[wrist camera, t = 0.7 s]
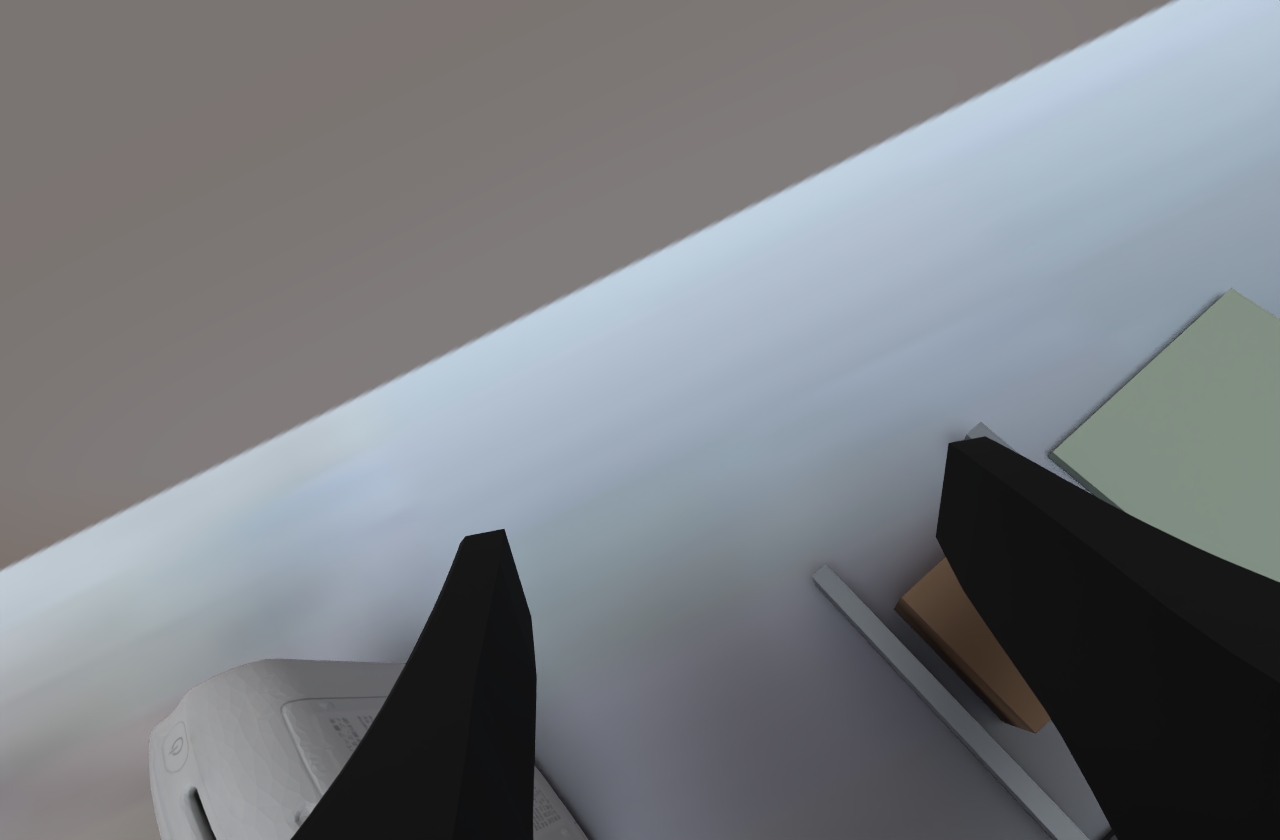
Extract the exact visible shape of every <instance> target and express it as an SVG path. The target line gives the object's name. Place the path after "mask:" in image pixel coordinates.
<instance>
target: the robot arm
mask: <svg viewBox="0 0 1280 840" xmlns="http://www.w3.org/2000/svg"><path fill="white" fill-rule="evenodd" d="M936 538H937V540H938V542H939V544H940V546H941V548H942V550H943V552H944V554H945V556H946V558H947V560H948V562H949V564H950V566H951V568H952V570H953V572H954V574H955V576H956V578H957V580H958V582H959V583H960V585H961V587H962V589H963V591H964V592H965V594H966V595H967V597H968V598H969V600H970V601H971V603H972V604H973V606H974V607H975V609H976V610H977V612H978V613H979V615H980V616H981V618H982V619H983V621H984V622H985V624H986V625H987V627H988V628H989V629H990V631H991V632H992V634H993V635H994V637H995V638H996V640H997V641H998V643H999V644H1000V645H1001V647H1002V648H1003V650H1004V651H1005V653H1006V654H1007V655H1008V657H1009V658H1010V660H1011V661H1012V663H1013V664H1014V666H1015V667H1016V668H1017V670H1018V671H1019V673H1020V674H1021V676H1022V677H1023V679H1024V680H1025V681H1026V683H1027V684H1028V686H1029V687H1030V689H1031V690H1032V692H1033V693H1034V694H1035V696H1036V697H1037V699H1038V700H1039V702H1040V703H1041V705H1042V706H1043V707H1044V709H1045V711H1046V712H1047V714H1048V715H1049V717H1050V718H1051V720H1052V722H1053V723H1054V725H1055V726H1056V728H1057V730H1058V731H1059V733H1060V734H1061V736H1062V738H1063V740H1064V741H1065V743H1066V745H1067V747H1068V749H1069V750H1070V752H1071V754H1072V756H1073V758H1074V759H1075V761H1076V763H1077V765H1078V767H1079V768H1080V770H1081V772H1082V774H1083V776H1084V777H1085V779H1086V781H1087V783H1088V785H1089V786H1090V788H1091V790H1092V792H1093V794H1094V795H1095V797H1096V799H1097V801H1098V803H1099V805H1100V807H1101V809H1102V811H1103V813H1104V815H1105V817H1106V818H1107V820H1108V822H1109V824H1110V826H1111V828H1112V830H1113V832H1114V834H1115V836H1116V838H1117V839H1118V840H1280V582H1278V581H1275V580H1273V579H1270V578H1268V577H1266V576H1263V575H1261V574H1258V573H1256V572H1253V571H1251V570H1249V569H1246V568H1244V567H1241V566H1239V565H1236V564H1234V563H1232V562H1229V561H1227V560H1224V559H1222V558H1220V557H1217V556H1215V555H1213V554H1211V553H1208V552H1206V551H1204V550H1202V549H1199V548H1197V547H1195V546H1193V545H1191V544H1189V543H1187V542H1185V541H1182V540H1180V539H1178V538H1176V537H1174V536H1172V535H1170V534H1168V533H1166V532H1164V531H1162V530H1160V529H1158V528H1155V527H1153V526H1151V525H1149V524H1147V523H1145V522H1143V521H1141V520H1139V519H1137V518H1136V517H1134V516H1132V515H1130V514H1128V513H1126V512H1124V511H1122V510H1120V509H1118V508H1116V507H1114V506H1112V505H1110V504H1109V503H1107V502H1105V501H1103V500H1101V499H1099V498H1097V497H1096V496H1094V495H1092V494H1090V493H1088V492H1086V491H1085V490H1083V489H1081V488H1079V487H1077V486H1075V485H1074V484H1072V483H1070V482H1068V481H1066V480H1065V479H1063V478H1061V477H1059V476H1057V475H1056V474H1054V473H1052V472H1050V471H1049V470H1047V469H1045V468H1043V467H1041V466H1040V465H1038V464H1036V463H1034V462H1032V461H1031V460H1029V459H1027V458H1025V457H1023V456H1022V455H1020V454H1018V453H1016V452H1014V451H1013V450H1011V449H1009V448H1007V447H1005V446H1003V445H1001V444H1000V443H998V442H996V441H994V440H992V439H990V438H988V437H986V436H984V437H979V438H973V439H968V440H963V441H958V442H953V443H949V445H948V452H947V459H946V467H945V474H944V481H943V489H942V496H941V503H940V510H939V518H938V525H937V532H936ZM536 680H537V677H536V664H535V652H534V641H533V631H532V620H531V615H530V611H529V608H528V605H527V602H526V598H525V595H524V592H523V588H522V585H521V582H520V579H519V575H518V572H517V569H516V565H515V562H514V559H513V556H512V552H511V549H510V546H509V543H508V539H507V536H506V533H505V529H501V530H496V531H491V532H485V533H480V534H475V535H470V536H465V538H464V539H463V540H462V542H461V543H460V545H459V548H458V551H457V553H456V556H455V558H454V561H453V564H452V566H451V569H450V571H449V573H448V576H447V578H446V581H445V583H444V585H443V588H442V590H441V592H440V595H439V597H438V599H437V601H436V604H435V606H434V608H433V610H432V612H431V614H430V616H429V618H428V621H427V623H426V625H425V627H424V629H423V631H422V633H421V635H420V637H419V639H418V641H417V643H416V645H415V647H414V649H413V651H412V653H411V655H410V657H409V659H408V661H407V663H406V664H405V666H404V668H403V670H402V672H401V673H400V675H399V677H398V679H397V681H396V682H395V684H394V686H393V688H392V690H391V691H390V693H389V695H388V697H387V699H386V701H385V702H384V704H383V706H382V707H381V709H380V711H379V712H378V714H377V716H376V717H375V719H374V721H373V722H372V724H371V726H370V727H369V729H368V730H367V732H366V734H365V735H364V737H363V738H362V740H361V741H360V743H359V744H358V746H357V748H356V749H355V751H354V752H353V754H352V755H351V757H350V758H349V760H348V761H347V763H346V764H345V766H344V767H343V769H342V770H341V772H340V773H339V774H338V776H337V777H336V779H335V780H334V781H333V783H332V784H331V785H330V787H329V788H328V790H327V791H326V792H325V794H324V795H323V797H322V798H321V799H320V801H319V802H318V804H317V805H316V806H315V808H314V809H313V810H312V812H311V813H310V815H309V816H308V817H307V819H306V820H305V821H304V823H303V824H302V825H301V826H300V828H299V829H298V830H297V832H296V833H295V834H294V836H293V837H292V838H291V839H290V840H533V801H534V764H535V727H536Z"/></svg>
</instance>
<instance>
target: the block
mask: <svg viewBox="0 0 1280 840" xmlns="http://www.w3.org/2000/svg"><path fill="white" fill-rule="evenodd" d="M894 610H895V611H896V612H897V613H898V614H899V615H900V616H901V617H902V618H903V619H904V620H905V621H906V622H907V623H908V624H909V625H910V627H911V628H912V629H913V630H914V631H915V632H916V633H917V634H918V635H919V636H920V637H921V638H922V639H923V640H924V641H925V642H926V643H927V644H928V645H929V646H930V647H931V648H932V649H933V650H934V651H935V652H936V653H937V654H938V655H939V656H940V657H941V658H942V659H943V660H944V661H945V662H946V663H947V665H948V666H949V667H950V668H951V669H952V670H953V671H954V672H955V673H956V674H957V675H958V676H959V677H960V678H961V679H962V680H963V681H964V682H965V683H966V684H967V685H968V686H969V687H970V688H971V689H972V690H973V691H974V692H975V693H976V694H977V695H978V696H979V697H980V698H981V699H982V700H983V701H984V703H985V704H986V705H987V706H988V707H989V708H990V709H991V710H992V711H993V712H994V713H995V714H996V715H997V716H998V717H999V718H1000V719H1001V720H1002V721H1003V722H1004V723H1007V724H1010V725H1013V726H1016V727H1019V728H1022V729H1025V730H1028V731H1031V732H1034V733H1037V732H1038V731H1039V730H1040V729H1041V728H1042V727H1043V726H1044V725H1045V724H1046V723H1047V722H1048V721H1049V720H1051V718H1050V717H1049V715H1048V714H1047V712H1046V711H1045V709H1044V707H1043V706H1042V705H1041V703H1040V702H1039V700H1038V699H1037V697H1036V696H1035V694H1034V693H1033V692H1032V690H1031V689H1030V687H1029V686H1028V684H1027V683H1026V681H1025V680H1024V679H1023V677H1022V676H1021V674H1020V673H1019V671H1018V670H1017V668H1016V667H1015V666H1014V664H1013V663H1012V661H1011V660H1010V658H1009V657H1008V655H1007V654H1006V653H1005V651H1004V650H1003V648H1002V647H1001V645H1000V644H999V643H998V641H997V640H996V638H995V637H994V635H993V634H992V632H991V631H990V629H989V628H988V627H987V625H986V624H985V622H984V621H983V619H982V618H981V616H980V615H979V613H978V612H977V610H976V609H975V607H974V606H973V604H972V603H971V601H970V600H969V598H968V597H967V595H966V594H965V592H964V591H963V589H962V587H961V585H960V583H959V582H958V580H957V578H956V576H955V574H954V572H953V570H952V568H951V566H950V564H949V562H948V560H947V558H946V557H945V558H944V559H942V560H941V561H940V562H939V563H938V564H937V565H936V566H935V567H934V568H933V569H932V570H930V571H929V572H928V573H927V574H926V575H925V576H924V577H923V578H922V579H921V580H920V581H918V582H917V583H916V584H915V585H914V586H913V587H912V588H911V589H910V590H909V591H908V592H906V593H905V594H904V595H903V596H902V597H901V599H900V600H899V602H898V603H897V605H896V607H895V608H894Z"/></svg>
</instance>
